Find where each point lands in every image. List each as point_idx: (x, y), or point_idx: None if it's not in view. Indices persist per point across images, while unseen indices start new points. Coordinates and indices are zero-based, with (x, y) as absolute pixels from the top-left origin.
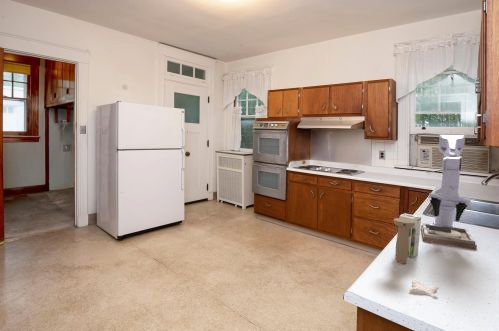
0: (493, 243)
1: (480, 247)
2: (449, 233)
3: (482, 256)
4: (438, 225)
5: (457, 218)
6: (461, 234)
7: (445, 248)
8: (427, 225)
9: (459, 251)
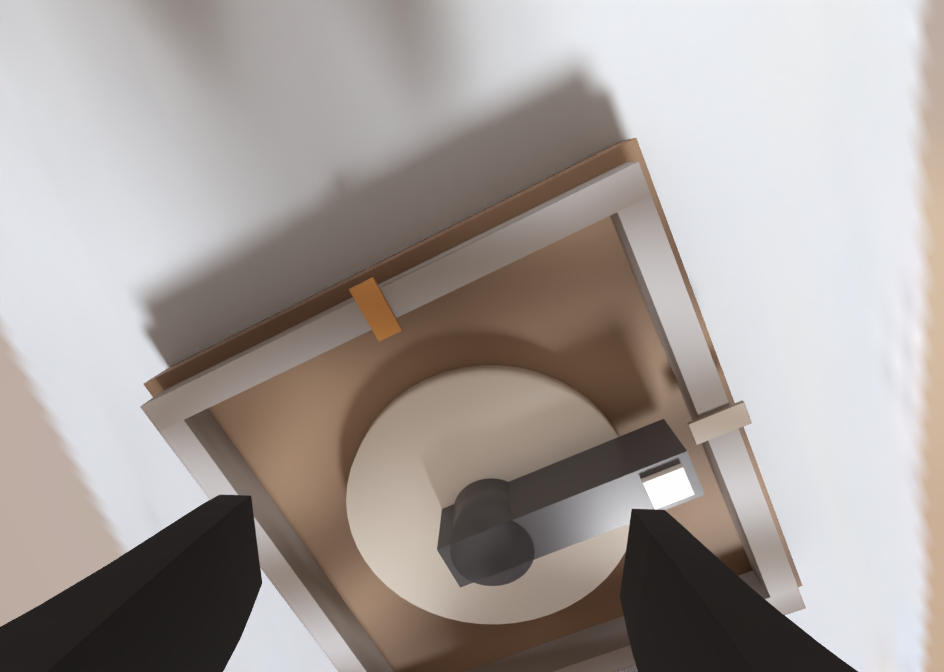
0: None
1: None
2: (443, 472)
3: (29, 193)
4: None
5: (173, 524)
6: (394, 607)
7: (344, 93)
8: None
9: (216, 135)
